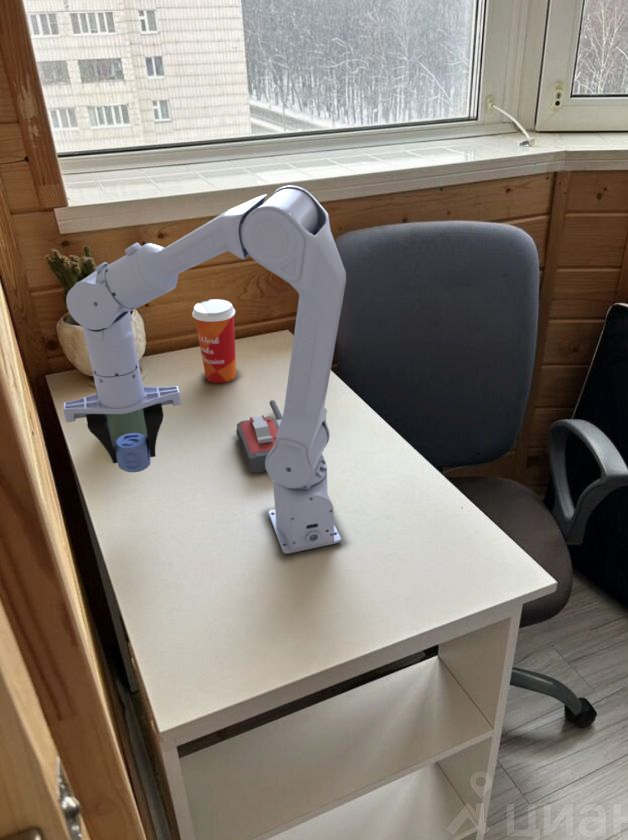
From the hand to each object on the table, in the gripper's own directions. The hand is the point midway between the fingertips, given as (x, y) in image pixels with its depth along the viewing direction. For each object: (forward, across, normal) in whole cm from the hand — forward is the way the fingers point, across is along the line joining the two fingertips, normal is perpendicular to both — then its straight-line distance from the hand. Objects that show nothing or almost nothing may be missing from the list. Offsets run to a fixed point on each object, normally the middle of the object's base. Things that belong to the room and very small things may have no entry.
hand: (134, 456), depth 99 cm
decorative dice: (+2, 0, 0) cm, 2 cm away
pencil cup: (+8, +1, -21) cm, 23 cm away
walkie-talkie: (+9, -20, -12) cm, 25 cm away
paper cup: (+8, -17, -36) cm, 41 cm away
